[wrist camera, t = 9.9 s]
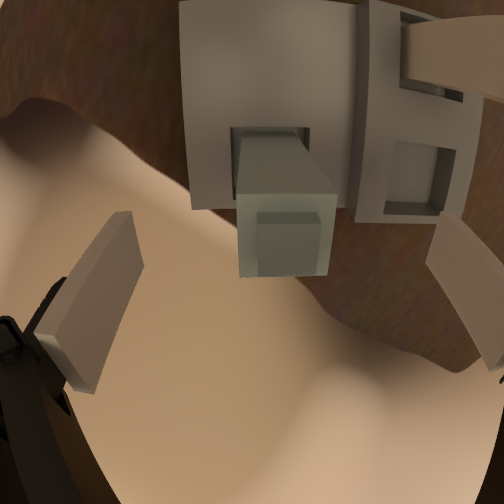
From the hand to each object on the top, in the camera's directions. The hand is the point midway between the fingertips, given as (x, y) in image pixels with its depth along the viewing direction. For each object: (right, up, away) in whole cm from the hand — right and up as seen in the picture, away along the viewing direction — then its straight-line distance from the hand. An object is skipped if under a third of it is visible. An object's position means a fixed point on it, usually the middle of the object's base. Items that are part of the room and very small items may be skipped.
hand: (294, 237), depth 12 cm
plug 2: (+10, +14, +4) cm, 18 cm away
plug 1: (0, +7, +12) cm, 14 cm away
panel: (+4, +11, +10) cm, 15 cm away
